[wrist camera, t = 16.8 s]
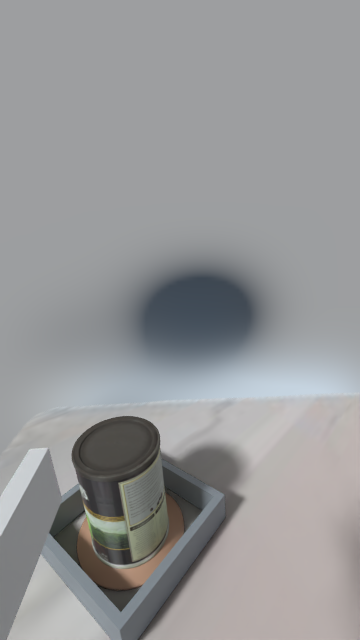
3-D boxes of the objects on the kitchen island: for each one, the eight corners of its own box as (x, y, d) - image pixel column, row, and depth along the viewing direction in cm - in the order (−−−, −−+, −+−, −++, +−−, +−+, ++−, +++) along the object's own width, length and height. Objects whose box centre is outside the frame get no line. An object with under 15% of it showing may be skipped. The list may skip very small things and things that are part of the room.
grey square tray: (135, 460, 54) (132, 441, 53) (225, 517, 43) (224, 494, 42) (34, 545, 42) (26, 523, 40) (125, 656, 30) (119, 630, 29)
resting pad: (134, 473, 52) (134, 471, 52) (205, 520, 43) (204, 518, 43) (56, 542, 42) (55, 540, 42) (127, 621, 33) (126, 618, 33)
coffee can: (89, 580, 37) (65, 485, 32) (94, 505, 46) (76, 423, 42) (176, 558, 38) (165, 464, 34) (164, 489, 48) (154, 409, 43)
